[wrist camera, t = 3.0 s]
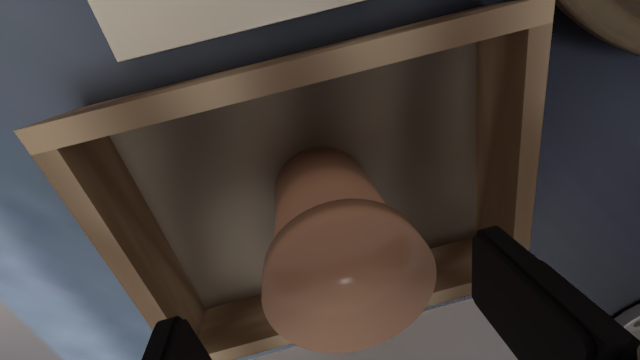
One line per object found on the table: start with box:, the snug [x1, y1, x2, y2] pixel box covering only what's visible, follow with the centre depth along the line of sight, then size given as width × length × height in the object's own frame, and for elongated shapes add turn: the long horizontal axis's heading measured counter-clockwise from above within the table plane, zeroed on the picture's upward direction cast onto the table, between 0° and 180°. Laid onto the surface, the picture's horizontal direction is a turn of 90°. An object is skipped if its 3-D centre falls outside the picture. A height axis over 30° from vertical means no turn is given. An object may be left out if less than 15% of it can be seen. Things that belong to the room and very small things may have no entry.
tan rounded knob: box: [261, 147, 437, 353], centre depth 14 cm, size 6×6×8 cm
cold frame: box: [14, 0, 555, 360], centre depth 17 cm, size 21×15×4 cm
